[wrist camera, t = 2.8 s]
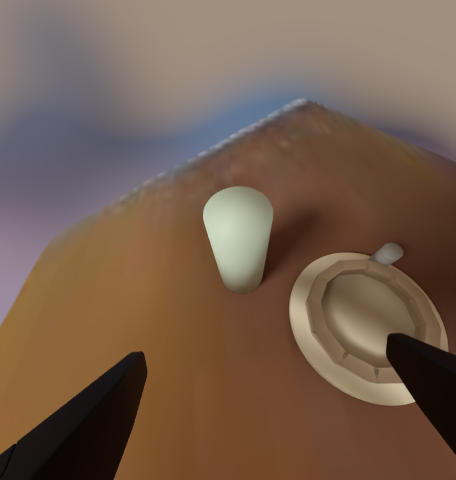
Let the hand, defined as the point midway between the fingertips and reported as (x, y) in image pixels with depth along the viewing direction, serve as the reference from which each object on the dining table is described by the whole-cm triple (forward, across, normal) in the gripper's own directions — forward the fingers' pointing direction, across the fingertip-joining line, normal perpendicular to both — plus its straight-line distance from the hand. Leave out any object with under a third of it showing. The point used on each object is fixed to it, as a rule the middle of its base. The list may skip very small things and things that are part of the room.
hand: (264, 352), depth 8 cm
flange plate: (+11, -11, +7) cm, 17 cm away
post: (+15, 0, +3) cm, 16 cm away
